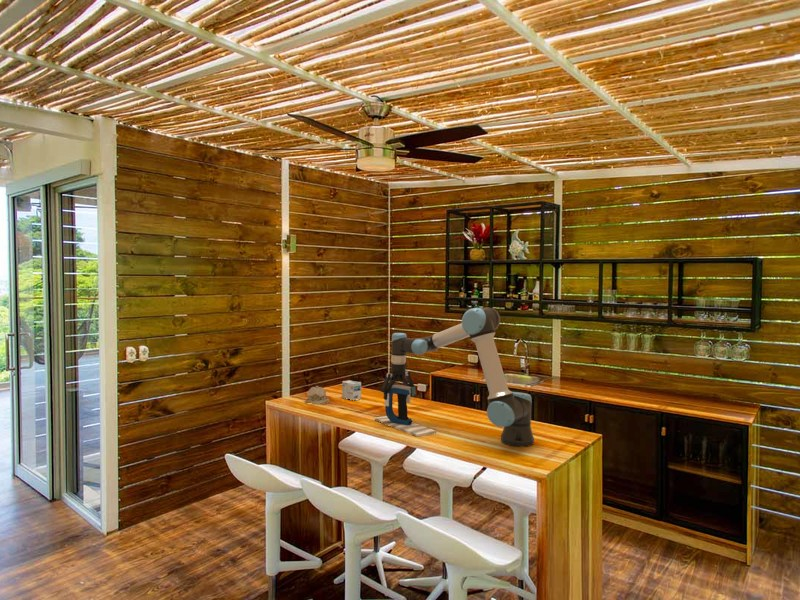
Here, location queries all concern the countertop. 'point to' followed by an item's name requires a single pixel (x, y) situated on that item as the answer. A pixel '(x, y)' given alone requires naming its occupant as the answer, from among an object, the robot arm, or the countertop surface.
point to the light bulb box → (351, 390)
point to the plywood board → (407, 427)
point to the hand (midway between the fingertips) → (397, 404)
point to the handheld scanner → (399, 404)
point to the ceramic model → (317, 396)
